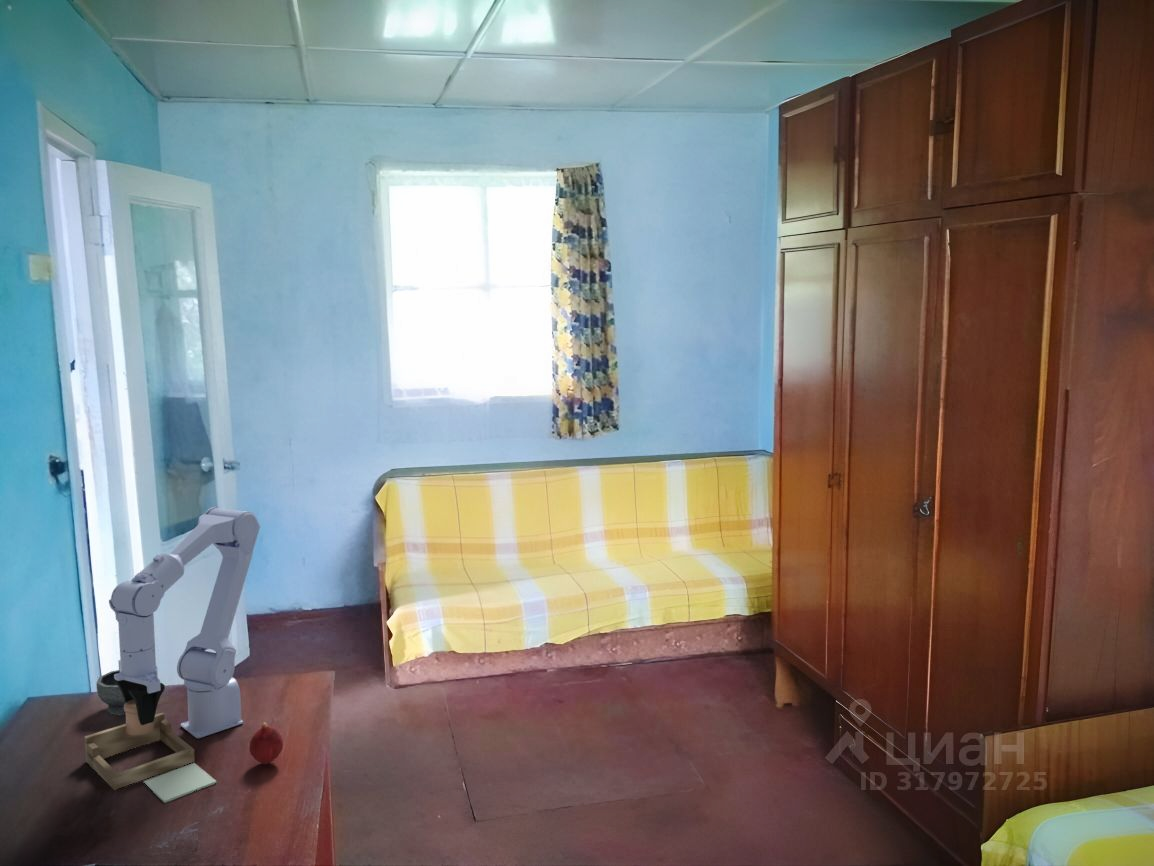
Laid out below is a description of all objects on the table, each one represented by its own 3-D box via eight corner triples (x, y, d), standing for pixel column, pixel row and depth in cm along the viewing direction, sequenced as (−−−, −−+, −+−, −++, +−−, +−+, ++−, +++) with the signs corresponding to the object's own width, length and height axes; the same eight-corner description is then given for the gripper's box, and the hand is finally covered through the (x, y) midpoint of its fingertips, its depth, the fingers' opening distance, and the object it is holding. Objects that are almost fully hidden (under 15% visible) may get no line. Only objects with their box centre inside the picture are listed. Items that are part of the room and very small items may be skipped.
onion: (290, 760, 164) (289, 720, 163) (267, 774, 159) (266, 733, 158) (266, 753, 166) (265, 713, 165) (243, 767, 161) (241, 726, 160)
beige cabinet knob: (149, 721, 164) (148, 695, 164) (160, 729, 161) (159, 703, 160) (120, 729, 161) (119, 702, 160) (130, 738, 157) (130, 711, 157)
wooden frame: (163, 736, 172) (162, 712, 172) (194, 761, 163) (193, 736, 162) (85, 762, 162) (84, 736, 161) (114, 790, 153) (112, 763, 152)
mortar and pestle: (102, 723, 177) (99, 666, 176) (94, 706, 185) (91, 651, 183) (162, 709, 184) (159, 654, 183) (152, 693, 192) (149, 640, 190)
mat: (194, 764, 162) (194, 762, 162) (216, 783, 156) (216, 780, 156) (143, 783, 155) (143, 781, 155) (164, 802, 149) (164, 800, 149)
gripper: (99, 641, 161) (103, 711, 163) (129, 664, 151) (133, 738, 153) (139, 632, 166) (143, 700, 168) (171, 653, 156) (174, 725, 158)
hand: (141, 717), depth 161 cm, fingers closed on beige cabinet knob, 5 cm apart
